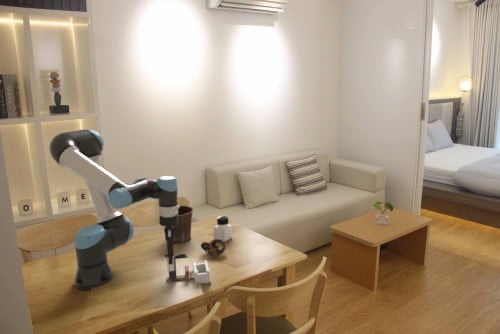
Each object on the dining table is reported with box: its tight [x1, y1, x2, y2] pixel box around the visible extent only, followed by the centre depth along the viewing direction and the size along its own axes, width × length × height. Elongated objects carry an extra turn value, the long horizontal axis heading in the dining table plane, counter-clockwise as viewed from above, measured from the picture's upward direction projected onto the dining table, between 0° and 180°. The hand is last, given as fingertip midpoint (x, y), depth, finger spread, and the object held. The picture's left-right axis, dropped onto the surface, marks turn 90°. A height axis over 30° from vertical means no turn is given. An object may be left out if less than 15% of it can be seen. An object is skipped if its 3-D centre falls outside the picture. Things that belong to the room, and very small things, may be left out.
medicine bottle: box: [213, 215, 233, 243], centre depth 212 cm, size 7×7×12 cm
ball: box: [189, 268, 199, 280], centre depth 169 cm, size 4×4×4 cm
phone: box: [175, 253, 189, 260], centre depth 186 cm, size 8×1×15 cm
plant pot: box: [172, 205, 194, 244], centre depth 212 cm, size 16×16×16 cm
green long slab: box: [192, 260, 212, 286], centre depth 167 cm, size 31×10×6 cm, turn 102°
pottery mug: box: [200, 238, 226, 258], centre depth 194 cm, size 12×10×8 cm
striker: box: [166, 253, 191, 283], centre depth 167 cm, size 9×5×11 cm, turn 102°
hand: (170, 262), depth 166 cm, fingers open, 13 cm apart
